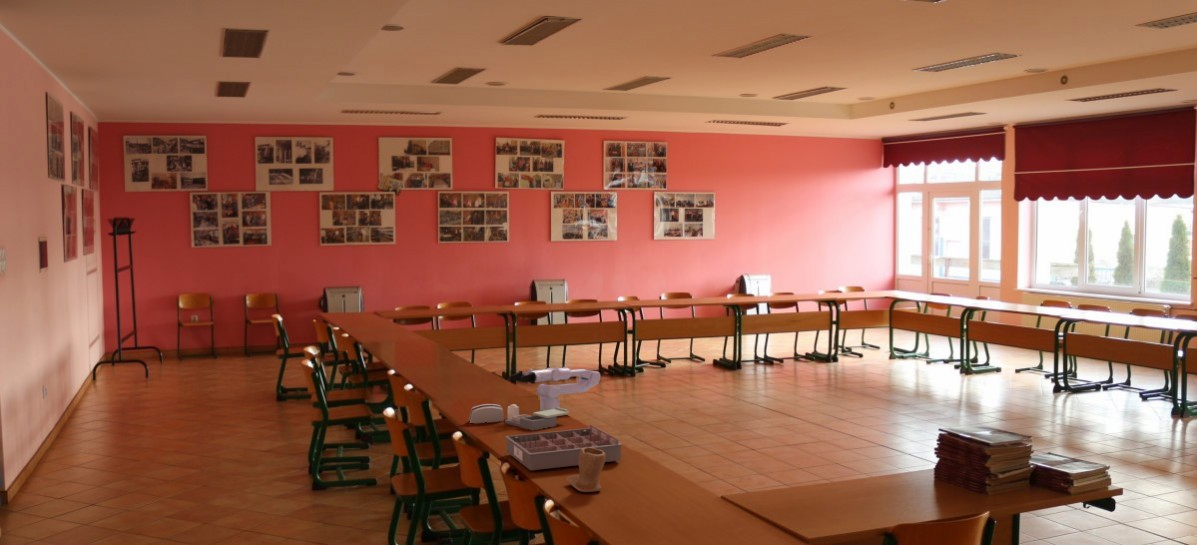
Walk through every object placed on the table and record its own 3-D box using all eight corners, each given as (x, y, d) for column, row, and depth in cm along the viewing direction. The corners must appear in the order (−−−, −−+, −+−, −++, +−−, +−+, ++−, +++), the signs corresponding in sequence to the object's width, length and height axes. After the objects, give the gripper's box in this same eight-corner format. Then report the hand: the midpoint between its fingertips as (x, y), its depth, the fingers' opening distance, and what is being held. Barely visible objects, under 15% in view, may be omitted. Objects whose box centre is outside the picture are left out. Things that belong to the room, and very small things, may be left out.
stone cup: (609, 492, 341) (609, 451, 340) (578, 495, 337) (578, 454, 336) (596, 481, 355) (596, 442, 354) (566, 484, 351) (566, 444, 350)
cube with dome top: (514, 417, 466) (514, 403, 465) (519, 418, 463) (519, 405, 462) (507, 418, 463) (507, 405, 462) (512, 420, 460) (512, 406, 460)
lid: (555, 410, 459) (555, 406, 459) (569, 413, 451) (569, 410, 451) (533, 414, 449) (533, 410, 449) (546, 418, 442) (546, 414, 442)
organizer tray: (504, 455, 394) (504, 431, 393) (592, 445, 410) (592, 423, 409) (529, 474, 365) (529, 449, 364) (623, 463, 380) (623, 439, 380)
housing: (527, 418, 462) (527, 409, 462) (556, 426, 446) (556, 416, 446) (504, 423, 453) (504, 413, 453) (533, 430, 437) (533, 421, 436)
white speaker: (501, 419, 462) (503, 401, 458) (503, 424, 458) (505, 406, 454) (467, 421, 456) (469, 403, 453) (469, 426, 452) (471, 408, 449)
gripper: (529, 366, 469) (507, 369, 460) (547, 368, 458) (525, 371, 449) (529, 380, 469) (507, 383, 460) (547, 383, 458) (525, 386, 449)
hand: (516, 378), depth 454 cm, fingers open, 7 cm apart
